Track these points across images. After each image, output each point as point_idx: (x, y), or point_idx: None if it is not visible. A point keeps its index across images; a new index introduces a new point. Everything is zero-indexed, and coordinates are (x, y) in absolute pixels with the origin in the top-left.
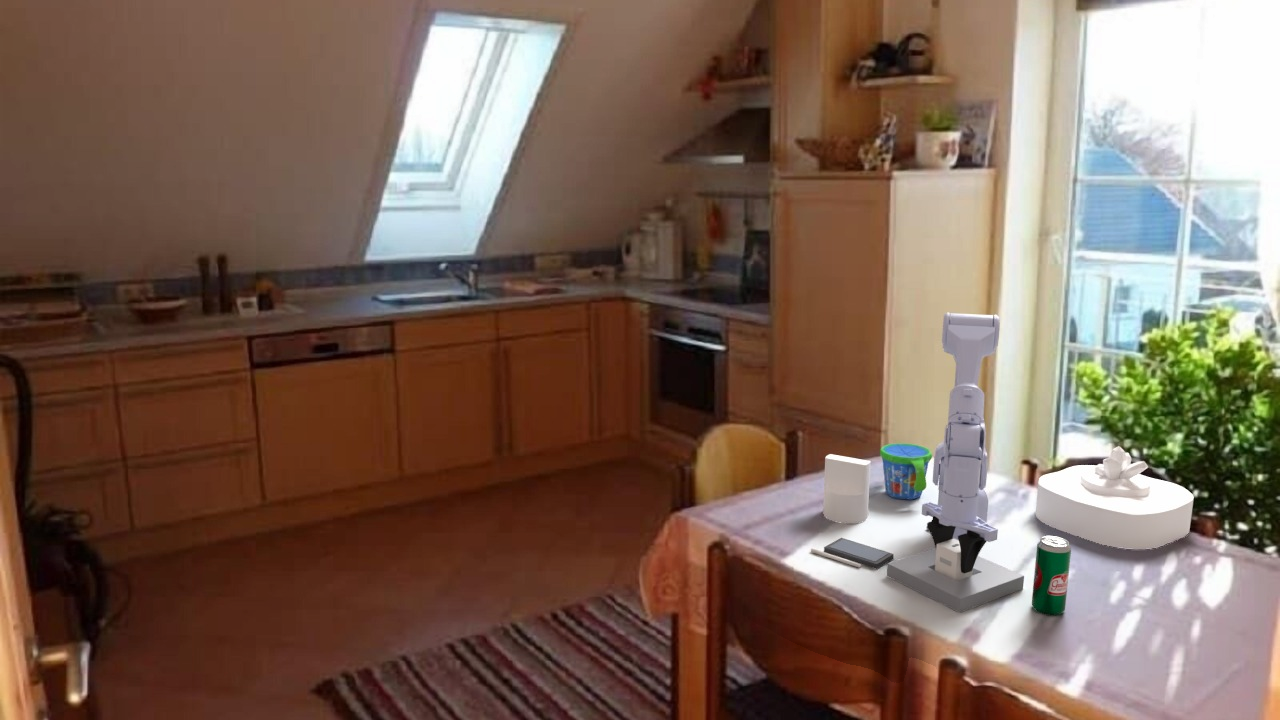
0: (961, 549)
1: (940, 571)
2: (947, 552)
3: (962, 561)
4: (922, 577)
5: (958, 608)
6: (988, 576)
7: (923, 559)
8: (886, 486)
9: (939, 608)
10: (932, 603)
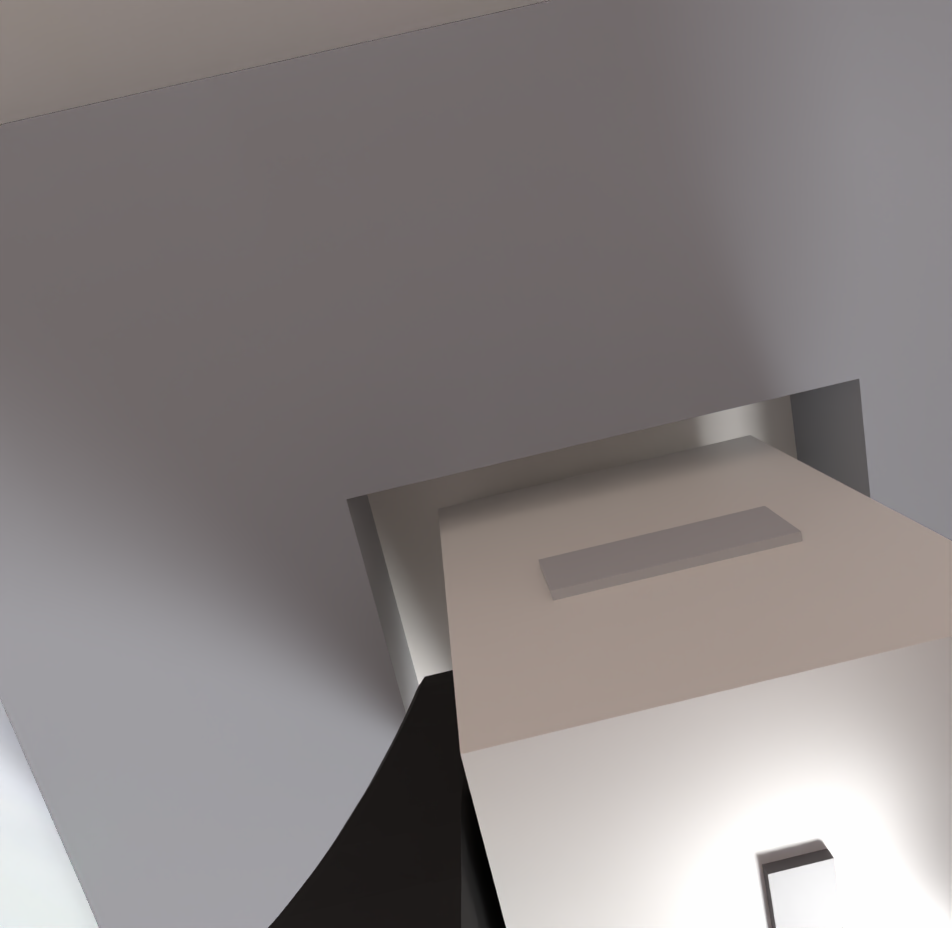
0: (434, 908)
1: (688, 475)
2: (707, 643)
3: (427, 750)
4: (607, 72)
5: None
6: None
7: None
8: None
9: (75, 15)
10: (224, 18)
